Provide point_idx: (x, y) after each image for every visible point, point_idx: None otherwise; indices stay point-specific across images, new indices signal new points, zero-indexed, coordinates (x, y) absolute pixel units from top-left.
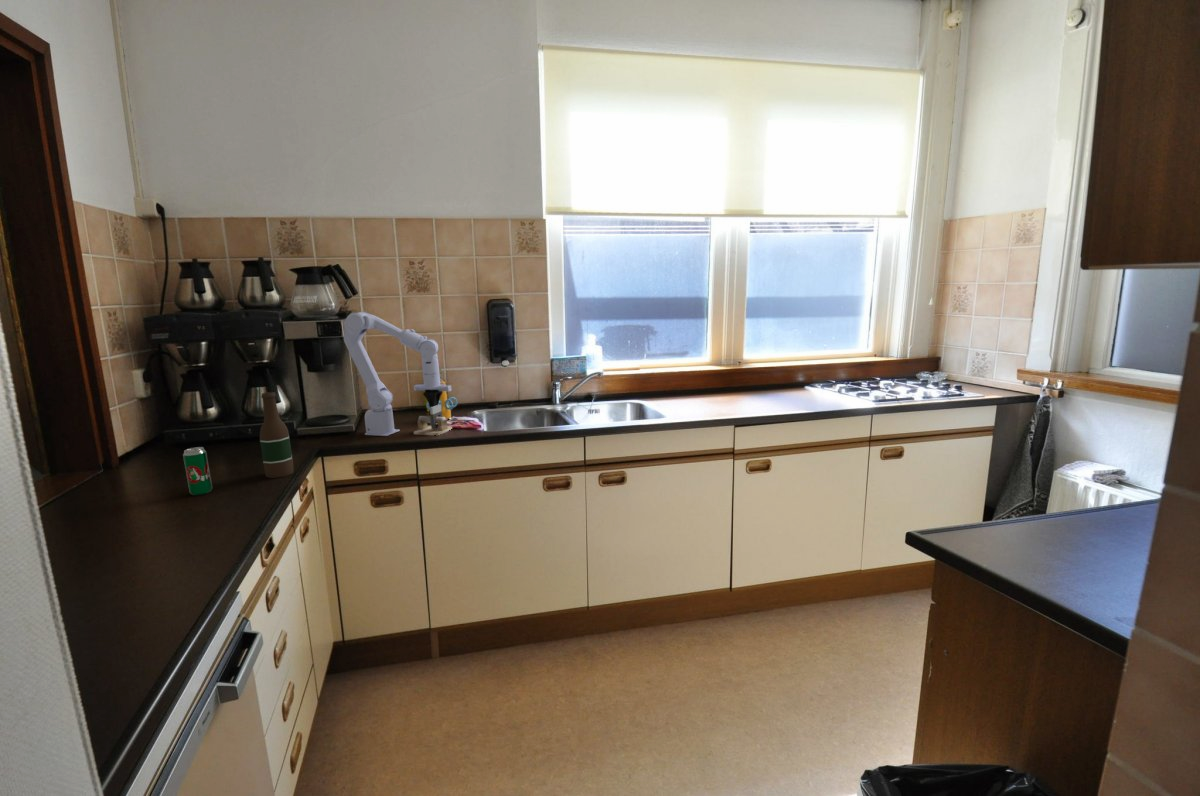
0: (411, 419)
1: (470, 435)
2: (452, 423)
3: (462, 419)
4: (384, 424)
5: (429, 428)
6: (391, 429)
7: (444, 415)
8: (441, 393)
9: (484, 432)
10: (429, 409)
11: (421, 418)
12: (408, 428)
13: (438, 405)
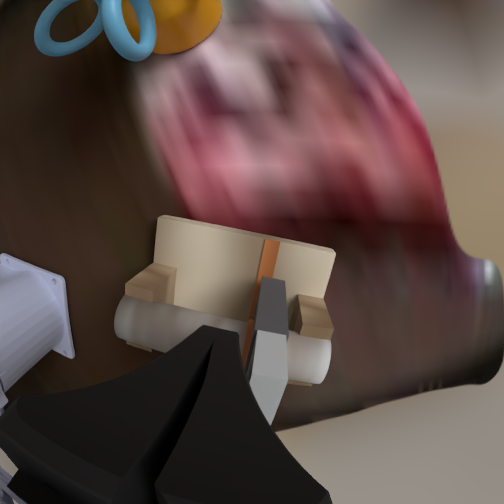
0: (35, 64)
1: (438, 353)
2: (273, 87)
3: (296, 4)
4: (37, 361)
5: (201, 293)
6: (56, 330)
7: (189, 28)
8: (308, 492)
9: (485, 303)
10: (76, 50)
11: (142, 344)
12: (70, 223)
13: (273, 412)
